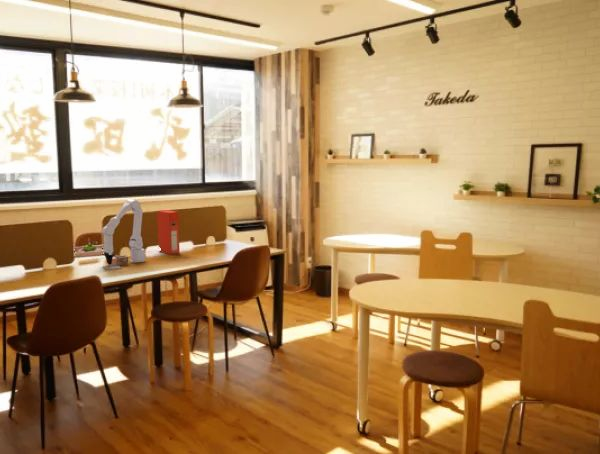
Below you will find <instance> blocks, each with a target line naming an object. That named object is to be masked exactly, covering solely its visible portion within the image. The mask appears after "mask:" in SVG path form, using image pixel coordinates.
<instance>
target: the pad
mask: <svg viewBox="0 0 600 454" xmlns="http://www.w3.org/2000/svg"><path fill="white" fill-rule="evenodd" d="M102 268H103V270H104V271H112V269H114V270H122V267H121V266H119V265H113V266H108V265H105V266H102Z"/></svg>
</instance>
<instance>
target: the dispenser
mask: <svg viewBox="0 0 600 454" xmlns="http://www.w3.org/2000/svg"><path fill="white" fill-rule="evenodd" d="M115 257H117V265H119V266H120V267H121V265H122V266H129V256H128V255H127V254H126V255H118V254H115Z"/></svg>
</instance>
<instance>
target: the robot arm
mask: <svg viewBox="0 0 600 454" xmlns="http://www.w3.org/2000/svg"><path fill="white" fill-rule="evenodd" d="M141 205H142V204H141V202H140V201H139V200H137V199H131V198H127V199H126V200H125V202H124V203H123V205H122V207H121V208H120V210H119V211H118V212H117V214H116V215H115V216H114V217H113V216H112V217H111V218H110V219H109V221H108V223H107V224H106V225H105V226H103V227H102V229H101V233H102V235H103V245H104V250H103V251H102V252H106V253H104V255H103V256H104V257H105V259H106V263H107V262H108V264H111V263H112V258H114V253H113V252H114V242H113V241H114V240H113V239H114V238H113V237H114V236H113V234H114V233H115V229H116V228H117V226H119V224H120V222H121V219H122V218H123V216H125V214H127V212H129V211H132V212H133V214H134V215H133V223H132V224H133V225H132V226H133V227H132V234H131V236H130V238H129V239H130V240H129V241H128V246H129V247H130V259H129V261H130V263H133V264H134V263H144V262H146V251H145V248H143V246H144V243H143V238H142V236H141V232H142V223H143V222H142V221H143V209H142V206H141Z"/></svg>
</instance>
